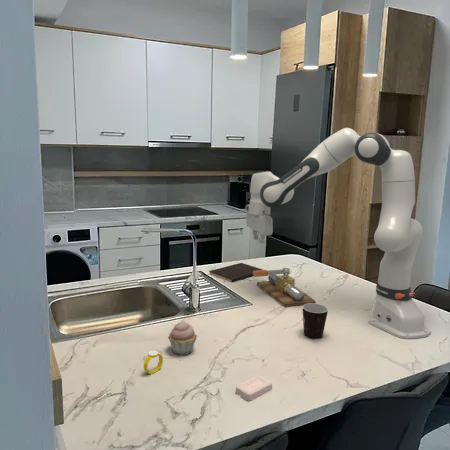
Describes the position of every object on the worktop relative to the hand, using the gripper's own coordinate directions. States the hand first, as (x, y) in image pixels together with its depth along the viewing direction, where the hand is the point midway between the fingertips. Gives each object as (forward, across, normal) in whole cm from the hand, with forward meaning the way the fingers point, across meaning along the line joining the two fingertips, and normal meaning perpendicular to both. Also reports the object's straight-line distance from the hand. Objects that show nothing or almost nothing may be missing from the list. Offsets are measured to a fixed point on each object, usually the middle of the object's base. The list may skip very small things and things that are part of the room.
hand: (258, 241), depth 186 cm
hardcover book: (+24, +27, -1) cm, 36 cm away
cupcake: (+23, -42, +43) cm, 65 cm away
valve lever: (+14, -5, -5) cm, 15 cm away
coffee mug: (+23, -45, -2) cm, 51 cm away
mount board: (+23, -5, -12) cm, 26 cm away
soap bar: (+24, -69, +30) cm, 79 cm away
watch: (+23, -52, +54) cm, 79 cm away
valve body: (+23, -5, -12) cm, 26 cm away
